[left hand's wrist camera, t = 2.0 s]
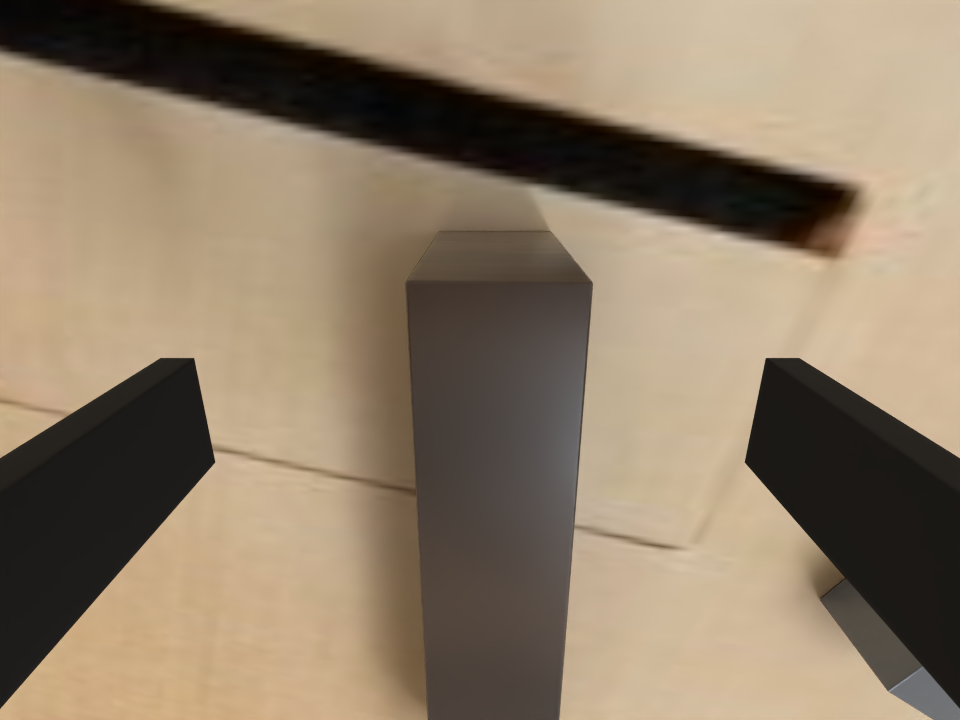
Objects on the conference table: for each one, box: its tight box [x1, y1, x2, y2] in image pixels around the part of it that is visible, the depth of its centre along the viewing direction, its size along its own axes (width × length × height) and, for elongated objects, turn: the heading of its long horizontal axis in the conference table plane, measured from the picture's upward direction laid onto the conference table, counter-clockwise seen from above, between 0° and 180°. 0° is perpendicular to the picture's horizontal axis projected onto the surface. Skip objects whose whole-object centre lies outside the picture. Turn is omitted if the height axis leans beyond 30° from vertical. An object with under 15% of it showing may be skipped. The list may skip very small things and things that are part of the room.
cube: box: [820, 579, 960, 720], centre depth 22 cm, size 4×4×4 cm
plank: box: [405, 231, 593, 720], centre depth 20 cm, size 26×4×8 cm, turn 0°
